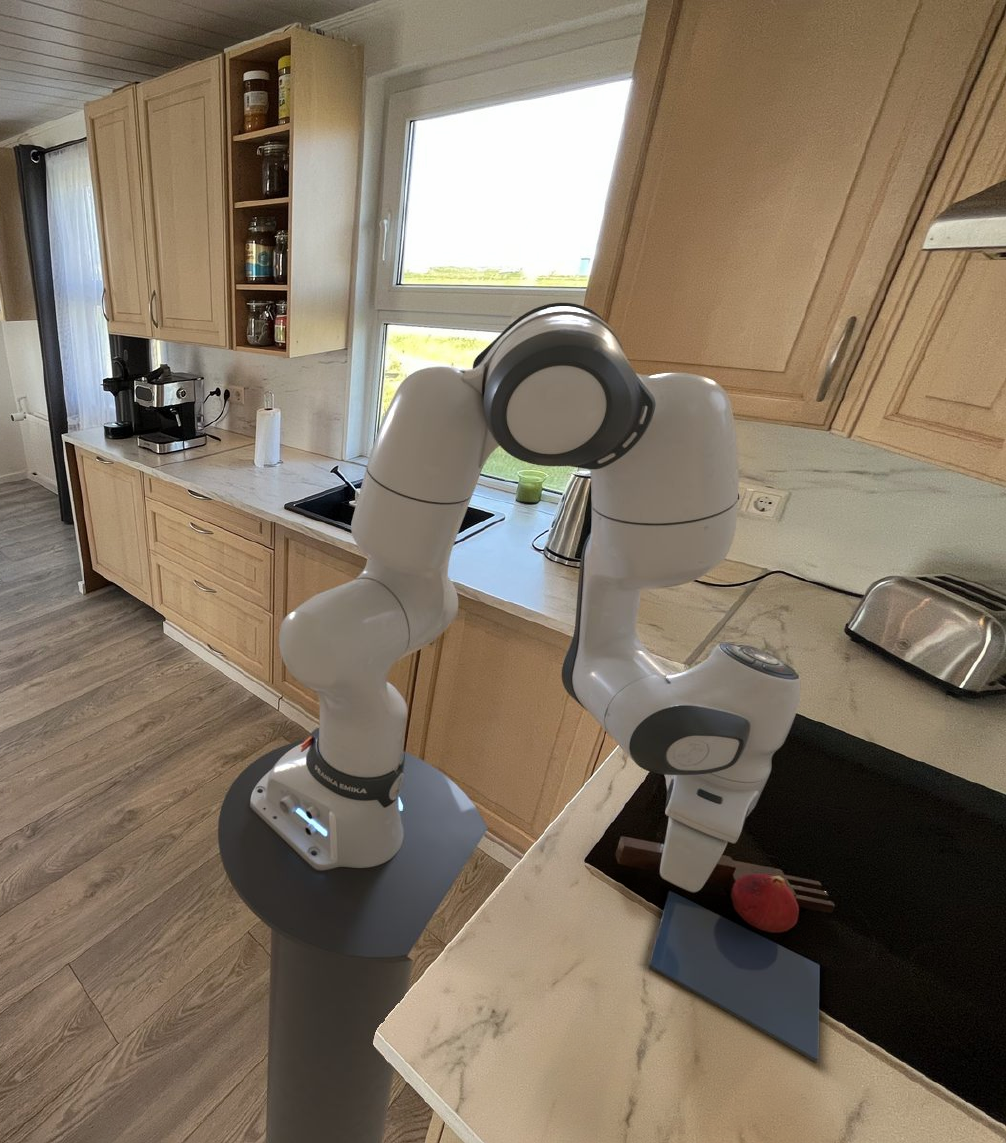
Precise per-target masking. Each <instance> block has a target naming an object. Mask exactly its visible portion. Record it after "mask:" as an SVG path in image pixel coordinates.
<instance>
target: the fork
mask: <svg viewBox="0 0 1006 1143" xmlns="http://www.w3.org/2000/svg"><path fill="white" fill-rule="evenodd" d="M663 848H664V843H661V842H655V841H649V840H644V839H638V838H634V837H627V836H622V835H621V836H620V838H619V841H618V845H617V847H616V850H615V853H614V855H615V859H616V861H617V864H618V865H621V866H625V867H631V868H636V869H640V870H646V871H651V872H656V873H660V864H661V858H662V853H663ZM751 873H763V874H767V875H770V876H780V877H781V878H783V879H784V880H785V883H786V886H787V887H788V888H789V889H790V891H791V892H792V893H793V894H794V896H795V899H796V901H797V904H798V907H801V908H805V909H811V910H815V911H821V912H825V913H830V914H832V913H833V911H834V909H835V908H836V904H835V903H834V902H833V901H832V900H828V898H829V894H828V892H827V891H825V890H821V889H822V887H823V885H822V883H821V882H820V880H819V881H818V880H815V879H808V878H803V877H799V876H794V875H793V876H792V875H788V874H785V873H784V872H783V870H782V869H779V868H774V867H771V866H770V867H769V866H764V865H759V864H753V863H749V862H743V861H738V860H733V858H732V857H731V856H729V855H723V854H722V856H721V858H720V859H719V861H718V863H717V865H716V866H715V868H714V870H713V871H712V873H711V875H710V876H709V878H708V880H707V881H706V883H710V884H715V885H720V886H725V887H728V888H729V890H730V892H731V891H732V888H733V886H734V884H735V882H736V881H737V880H738V879H739V878H741V877H743V876H745V875H748V874H751Z"/></svg>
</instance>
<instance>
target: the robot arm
mask: <svg viewBox="0 0 1006 1143" xmlns="http://www.w3.org/2000/svg"><path fill="white" fill-rule="evenodd" d="M498 447H500V448H501V449H502V450H503V451H504V452H505V453H507V454H508V455H510V456H511V457H512V458H515V459H517V460H519V461H522V462H524V463H527V464H531V465H536V466H542V467H571V468H577V469H583V470H584V469H585V470H589V472H590V487H591V490H590V491H591V494H590V495H591V496H590V497H591V498H590V499H591V500H590V502H591V525H590V526H591V528H590V533H589V534H588V536H587V537H586V539H585V542H584V544H583V547H582V552H581V556H580V562H579V570H578V582H577V593H576V594H577V595H576V596H577V597H576V609H575V622H574V631H573V636H572V639H571V642H570V645H569V648H568V650H567V652H566V655H565V656H564V657H565V658H564V661H563V664H562V667H561V682H562V685H563V687H564V689H565V691H566V692H567V694H568V695H569V696H570V698H572V699H574V701H575V702H577V703H578V704H579V705H580V706H581V708H583V709H584V710H585V711H587V712H588V713H589V715H590V716H591V717H592V718H593V719H594V721H596V723H598V725H599V726H600V727H601V728H602V729H603V730H604V731H605V732H606V734H607V735H608V736H609V737H610V738H611V739H612V740H613V741H614V742H615V743H616V744H617V745H618V747H620V749H621V750H622V751H623V752H624V753H625V754H626V755H627V756H628V757H629V758H630V759H631V760H632V761H633V762H634V763H635V764H636V765H637V766H638V767H640V768H641V769H643V770H644V771H647V772H649V773H653V774H656V775H657V774H658V775H664V778H665V785H666V802H665V809H664V810H665V811H664V813H665V815H666V816H667V817H668V819H667V820H668V822H667V827H666V833H665V837H664V843H663V844H664V848H663V853H662V858H661V864H660V872H659V875H660V877H661V879H662V880H665V881H666V882H668V883H670V884H673V885H674V886H676V887H679V888H681V889H683V890H685V891H687V892H690V893H692V894H693V893H697V892H699V891H701V890H702V889H703V887H704V886H705V884H706V883H707V882H706V881H707V880H708V878H709V876H710V875H711V873H712V871H713V870H714V868H715V866H716V865H717V863H718V861H719V859H720V858H721V856H722V855H723V854H724V852H725V850H726V848H727V846H728V844H729V843H731V844H737V842H738V840H739V839H740V836H741V834H742V831H743V829H744V827H745V822H746V819H747V817H748V816H749V815H750V814H751V813H752V811H753V810H754V809H755V808H756V806H757V804H758V801H759V799H760V797H761V795H762V792H763V790H764V789H765V786H766V784H767V782H768V780H769V777H770V775H771V772H772V768H773V767H772V765H773V764H772V759H773V756H774V754H775V753H776V752H777V751H778V750H779V749H780V748H782V746H783V745H784V744H785V742H786V740H787V738H788V735H789V733H790V731H791V728H792V727H793V726H792V725H793V724H794V721H795V718H796V715H797V712H798V708H799V705H800V702H801V695H802V679H801V677H800V675H799V674H798V672H797V671H796V670H795V669H794V668H793V667H792V666H790V665H789V664H788V663H786V662H785V661H783V660H781V659H780V658H779V657H777V656H775V655H773V654H771V653H770V652H768V651H765V650H763V649H761V648H758V647H756V646H752V645H750V644H745V643H741V642H737V641H722V642H720V643H718V644H717V645H715V647H714V648H713V649H712V651H711V652H710V654H709V655H708V657H707V658H706V659H704V660H703V661H701V662H700V663H698V664H696V665H695V666H692V667H690V668H688V669H686V670H683V671H679V672H677V673H673V672H672V671H671V670H670V669H668V668H667V666H665V665H664V664H662V662H660V661H659V660H657V658H656V657H654V655H652V653H651V652H650V651H649V650H648V648H647V647H646V646H645V645H644V644H643V642H642V641H641V639H640V637H639V636H638V633H637V623H638V616H639V611H640V610H639V608H640V602H641V595H642V591H649V590H650V591H651V590H664V589H669V588H670V589H671V588H674V587H679V586H682V585H687V584H689V583H692V582H695V581H697V580H699V579H701V578H703V577H704V576H706V575H707V574H709V573H711V572H712V571H714V570H715V569H716V568H717V567H718V566H720V564H722V562H723V561H724V560H725V559H726V557H727V556H728V554H729V552H730V549H731V547H732V544H733V542H734V538H735V534H736V528H737V521H738V519H737V518H738V504H739V487H740V486H739V485H740V484H739V481H740V471H739V470H740V469H739V467H740V466H739V464H740V463H739V449H738V437H737V431H736V423H735V418H734V413H733V408H732V403H731V399H730V397H729V395H728V393H727V392H726V390H725V389H724V388H723V387H722V385H721V384H719V383H718V382H717V381H715V380H713V379H710V378H709V377H706V376H702V375H699V374H695V373H688V372H664V373H658V374H653V375H649V374H641V373H637V372H636V371H635V370H634V369H633V367H632V365H631V363H630V362H629V360H628V357H627V355H626V354H625V352H624V349H623V346H622V343H621V340H620V339H619V338H618V336H617V334H616V333H615V332H614V331H613V329H612V328H611V326H609V324H607V322H606V321H605V320H604V319H603V317H601V316H600V315H599V314H598V313H596V312H595V311H594V310H593V309H590V308H588V307H586V306H584V305H581V304H577V303H572V302H553V303H547V304H543V305H540V306H538V307H536V308H533V309H531V310H529V311H527V312H526V313H524V314H523V315H521V316H519V317H518V318H516V319H515V320H514V321H512V322H511V323H510V324H509V325H508V326H507V327H506V328H505V329H504V330H502V332H501V333H500V334H499V335H498V336H497V337H496V338H495V339H494V340H493V341H492V342H491V343H490V344H489V345H488V346H487V347H485V349H483V351H481V352H480V353H479V354H478V355H477V356H476V357H475V359H474V360H473V363H472V368H470V369H468V368H467V369H466V368H465V369H463V368H457V367H453V366H443V365H441V366H440V365H439V366H429V367H426V368H422V369H419V370H416V371H414V372H412V373H411V374H409V375H408V376H406V377H405V378H404V379H403V381H402V382H401V383H400V384H399V386H398V387H397V389H396V391H395V393H394V395H393V397H392V399H391V401H390V403H389V405H388V408H387V409H386V412H385V414H384V416H383V418H382V421H381V424H380V426H379V429H378V431H377V433H376V436H375V438H374V442H373V444H372V447H371V451H370V454H369V457H368V461H367V464H366V467H365V471H364V474H363V478H362V483H361V486H360V490H359V492H358V496H357V501H356V503H355V504H356V505H355V508H354V511H353V515H352V519H351V523H350V525H351V526H350V531H351V535H352V538H353V540H354V541H355V543H356V545H357V547H358V548H359V550H360V551H361V552H362V554H364V556H366V564H365V567H364V568H363V570H362V571H361V573H359V575H358V576H357V577H356V578H354V579H352V580H351V581H348V582H346V583H343V584H340V585H338V586H335V587H333V588H330V589H328V590H325V591H321V592H320V593H317V594H315V595H313V596H312V597H310V598H308V599H307V600H306V601H304V602H303V603H302V604H300V605H299V606H297V607H296V608H295V609H293V610H291V612H289V614H287V615H286V616H285V617H284V619H283V620H282V622H281V624H280V630H279V635H278V645H279V647H278V648H279V652H280V656H281V659H282V661H283V664H284V665H285V667H286V669H287V670H288V672H289V673H290V675H291V676H292V677H293V678H294V679H295V680H296V681H297V682H298V683H300V684H301V685H303V686H304V687H306V688H307V689H309V690H311V691H314V692H315V693H316V694H317V697H318V702H319V724H318V727H316V728H315V729H313V731H311V732H310V733H309V737H308V738H306V739H305V740H306V741H303V740H302V739H301V740H299V741H300V743H299V744H298V745H297V746H296V747H294V748H293V749H291V750H290V751H288V752H287V753H286V754H285V755H284V756H282V757H281V758H280V759H279V761H278V762H277V763H276V764H275V766H274V767H273V769H271V770H270V771H269V772H268V773H267V774H266V775H265V776H264V777H263V778H262V779H261V780H260V781H259V782H258V784H257V785H256V787H255V788H254V790H253V792H252V795H251V801H250V807H251V808H252V809H253V810H254V811H255V812H256V813H257V814H258V815H259V816H260V817H261V818H262V819H263V820H264V821H265V822H266V823H267V824H268V825H269V826H270V827H271V828H272V829H273V830H274V831H275V832H276V833H278V834H279V835H280V836H281V837H282V838H283V839H284V840H285V841H286V842H287V843H288V844H289V845H290V846H291V847H292V848H293V849H294V850H295V851H296V852H297V853H298V854H299V855H300V856H301V857H303V858H304V859H305V860H306V861H307V862H308V863H309V864H310V865H311V866H312V867H313V868H314V869H316V870H329V869H333V868H336V867H351V868H368V867H374V866H377V865H380V864H383V863H385V862H387V861H388V860H390V859H391V858H392V857H394V856H395V855H396V853H397V852H398V851H399V849H400V848H401V845H402V842H403V837H404V831H403V826H402V822H401V818H400V811H402V809H403V805H402V803H401V800H400V798H399V794H400V791H401V788H402V783H403V777H404V774H403V772H404V762H405V753H404V752H405V750H404V745H405V736H406V728H407V722H408V721H407V720H408V713H409V712H408V705H407V702H406V700H405V698H404V697H403V695H402V694H401V693H400V692H399V690H398V689H397V688H396V687H395V686H394V685H393V684H391V682H389V681H388V675H389V673H390V671H391V669H392V667H394V665H395V664H396V663H398V662H399V661H400V660H402V659H404V658H406V657H409V656H410V655H412V654H414V653H416V652H418V651H420V650H421V649H424V648H425V647H427V646H429V645H430V644H433V643H434V641H436V640H437V639H438V638H439V637H440V636H441V635H442V634H444V632H445V631H446V630H448V628H449V627H450V626H451V625H452V624H453V623H454V621H455V619H456V617H457V615H458V612H459V597H458V593H457V590H456V587H455V584H454V583H453V581H452V580H451V578H450V577H449V564H450V559H451V554H452V552H453V549H454V545H455V542H456V540H457V537H458V534H459V531H460V529H461V526H462V524H463V521H464V518H465V516H466V514H467V510H468V508H469V505H470V502H471V500H472V497H473V495H474V492H475V490H476V487H477V484H478V481H479V478H480V475H481V473H482V470H483V468H484V466H485V465H486V463H487V461H488V459H489V458H490V456H491V455H492V454H493V453H494V451H495V450H497V449H498ZM399 809H400V810H399ZM312 854H315V856H313V855H312Z"/></svg>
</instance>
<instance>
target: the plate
mask: <svg viewBox="0 0 1006 1143" xmlns="http://www.w3.org/2000/svg"><path fill="white" fill-rule="evenodd" d="M648 968H649V969H651V970H653V971H655V972H656V973H658V974H660V975H661V976H663V977H665V978H666V979H668V980H670V981H672V982H673V983H675V984H677V985H678V986H680V987H682V988H684V989H685V990H688V991H690V992H691V993H693V994H695V995H697V996H699V997H700V998H702V999H704V1000H705V1001H707V1002H709V1003H711V1004H713V1005H714V1006H716V1007H718V1008H720V1009H722V1011H725V1012H727V1013H729V1014H730V1015H732V1016H734V1017H735V1018H736V1019H739V1020H741V1021H742V1022H744V1023H746V1024H747V1025H750V1026H751V1027H753V1028H755V1029H757V1030H758V1031H760V1032H761V1033H764V1034H765V1035H767V1036H769V1037H771V1038H772V1039H774V1040H776V1041H777V1042H779V1043H781V1044H782V1045H784V1046H786V1047H788V1048H790V1049H792V1050H793V1051H795V1052H797V1053H799V1054H801V1055H802V1056H804V1057H806V1058H808V1059H809V1060H811V1061H812V1062H815V1063H817V1062H818V1061H819V1042H820V1040H819V1039H820V1037H819V1036H820V1035H819V1034H820V974H821V972H820V970H821V969H820V968H821V965H820V964H819V963H817V962H814V961H813V960H812V959H809V958H807V957H804V956H803V955H801V954H798V953H796V952H794V951H792V950H790V949H788V948H787V947H784V946H783V945H780V944H778V943H776V942H774V941H773V940H770V939H768V938H766V937H764V936H762V935H761V934H758V933H756V932H754V931H752V930H750V929H748V928H746V927H744V926H742V925H740V924H739V923H736V922H734V921H732V920H730V919H728V918H726V917H723V916H722V915H719V914H718V913H717V912H716V913H715V912H713V911H712V910H710V909H708V908H705V906H704V907H703V906H702V905H699V904H698V903H696V902H694V901H691V900H689V899H687V898H686V897H683V896H681V895H679V894H677V893H675V892H673V891H672V890H668V893H667V895H666V900H665V904H664V907H663V912H662V915H661V919H660V923H659V926H658V930H657V933H656V936H655V941H654V945H653V949H652V952H651V956H650V960H649V963H648Z"/></svg>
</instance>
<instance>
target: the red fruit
mask: <svg viewBox="0 0 1006 1143" xmlns="http://www.w3.org/2000/svg"><path fill="white" fill-rule="evenodd" d="M730 898H731V901H732V905H733V909H734V911H735V912H736V913H737V914H738V915H739V917H741V919H742V920H743V921H745V922H746V923H747V924H749V925H750V926H752V927H754V928H755V929H758V930H761V931H764V932H767V933H768V932H769V933H771V934H772V933H773V934H774V933H783V932H787V931H789V930H791V929H792V928H794V927H795V925H796V924H797V923H798V919H799V915H800V914H799V913H800V912H799V911H800V908H799V907H800V906H798V904H797V901H796V899H795V896H794V894H793V893H792V892H791V891H790V889H789V888H788V887H787V886H786V883H785V880H784V879H783V878H781V877H780V876H770V875H767V874H763V873H751V874H748V875H745V876H743V877H741V878H739V879H738V880H737V881H736V882H735V884H734V886H733V888H732V891H731V890H730Z"/></svg>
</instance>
